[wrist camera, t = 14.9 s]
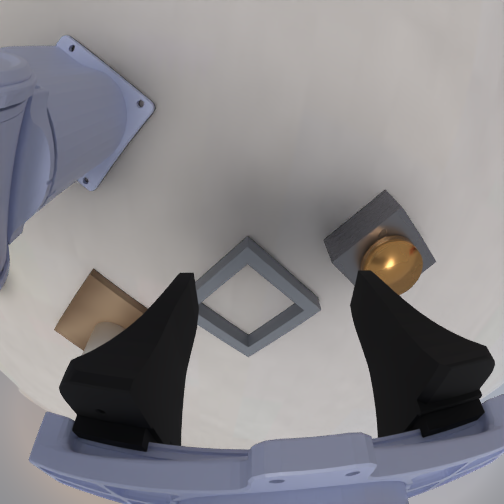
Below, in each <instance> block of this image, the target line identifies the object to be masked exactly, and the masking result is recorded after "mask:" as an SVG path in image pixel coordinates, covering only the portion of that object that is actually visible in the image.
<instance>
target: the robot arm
mask: <svg viewBox="0 0 504 504" xmlns="http://www.w3.org/2000/svg"><path fill="white" fill-rule="evenodd" d="M73 46H75V49H74V51H72V47H73ZM140 100H143V102H144V106H143V107H140V106H139V101H140ZM154 109H155V106H154V104H153V102H152V101H150V100H149V99H148V98H147V97H146V96H144V95H143V94H142V93H141V92H140V91H138V90H137V89H136V88H135V87H134V86H132V85H131V84H130V83H129V82H128V81H126V80H125V79H124V78H123V77H121V76H120V75H119V74H118V73H116V72H115V71H114V70H113V69H111V68H110V67H109V66H108V65H106V64H105V63H104V62H103V61H101V60H100V59H99V58H98V57H96V56H95V55H94V54H93V53H91V52H90V51H89V50H87V49H86V48H85V47H84V46H82V45H81V44H80V43H78V42H77V41H76V40H74V39H73V38H72V37H71V36H68V35H65V36H62V37H61V38H60V40H59V41H58V42H57V44H56V46H11V47H3V48H0V290H1V288H2V287H3V285H4V283H5V281H6V278H7V276H8V271H9V267H10V258H9V247H8V245H9V244H11V243H12V242H13V241H14V240H15V239H16V238H17V237H18V236H19V235H20V234H21V233H22V231H23V226H24V224H25V222H26V221H27V220H28V219H29V218H31V217H32V216H33V215H34V214H35V213H36V212H37V211H39V210H40V209H41V208H42V207H43V206H45V205H46V204H47V203H48V202H50V201H51V200H52V199H53V198H55V197H56V196H57V195H58V194H60V193H61V192H62V191H64V190H65V189H66V188H67V187H69V186H70V185H71V184H73V183H74V182H75V181H78V182H80V183H81V184H82V185H83V186H84V187H85V188H86V189H88V190H89V191H94V190H95V189H96V188H97V187H98V186H99V184H100V183H101V181H102V180H103V178H104V177H105V175H106V174H107V172H108V171H109V169H110V168H111V167H112V165H113V164H114V162H115V161H116V160H117V158H118V157H119V155H120V154H121V153H122V151H123V150H124V149H125V147H126V146H127V145H128V143H129V142H130V141H131V139H132V138H133V137H134V135H135V134H136V133H137V132H138V130H139V129H140V128H141V127H142V125H143V124H144V123H145V122H146V120H147V119H148V118H149V117H150V115H151V114H152V113H153V112H154ZM85 177H86V178H88V180H89V182H86V180H85ZM350 307H351V312H352V317H353V322H354V326H355V329H356V332H357V334H358V337H359V340H360V343H361V346H362V349H363V352H364V355H365V358H366V361H367V364H368V368H369V372H370V377H371V382H372V387H373V393H374V400H375V408H376V417H377V430H378V438H375V439H372V437H371V436H369V435H367V434H364V433H362V432H360V433H344V434H336V435H327V436H317V437H305V438H289V439H276V440H268V441H263V442H261V443H258V444H255V445H254V446H252V447H251V449H250V450H241V449H212V448H197V447H185V446H181V427H182V410H183V398H184V388H185V379H186V373H187V367H188V363H189V359H190V355H191V351H192V347H193V342H194V338H195V334H196V330H197V323H198V314H199V304H198V298H197V292H196V285H195V279H194V273H179V274H178V275H177V277H176V278H175V279H174V280H173V281H172V283H171V284H170V285H169V286H168V287H167V289H166V290H165V291H164V292H163V293H162V294H161V296H160V297H159V298H158V299H157V300H156V301H155V302H154V303H153V304H152V305H151V306H150V307H149V308H148V309H147V311H146V312H145V313H144V314H143V315H142V316H140V317H139V318H138V319H137V320H136V321H135V322H134V323H132V324H131V325H130V326H129V327H128V328H126V329H125V330H124V331H122V332H121V333H119V334H118V335H116V336H115V337H114V338H112V339H111V340H109V341H108V342H106V343H104V344H103V345H101V346H99V347H97V348H96V349H94V350H92V351H90V352H88V353H86V354H84V355H81V356H79V357H77V358H75V359H73V360H71V362H70V364H69V366H68V367H67V370H66V372H65V374H64V377H63V379H62V381H61V384H60V386H59V390H60V393H61V395H62V396H63V398H64V399H65V401H66V402H67V403H68V404H69V406H70V407H71V408H72V409H73V410H74V412H75V413H76V414H77V417H76V420H75V421H74V420H72V419H70V418H68V417H65V416H61V415H58V414H54V413H51V412H46V413H45V416H44V419H43V421H42V424H41V426H40V429H39V432H38V435H37V437H36V440H35V443H34V446H33V448H32V451H31V455H30V457H29V461H30V462H31V463H32V464H33V465H35V466H36V467H37V468H39V469H41V470H42V471H43V472H45V473H46V474H48V475H49V476H51V477H52V478H54V479H55V480H57V481H59V482H60V483H62V484H65V485H68V486H70V487H73V488H76V489H79V490H82V491H85V492H87V493H91V494H93V495H96V496H100V497H103V498H106V499H109V500H112V501H116V502H119V503H123V504H409V503H408V498H410V497H413V496H415V495H418V494H421V493H424V492H426V491H429V490H431V489H434V488H436V487H439V486H441V485H444V484H446V483H448V482H451V481H453V480H455V479H457V478H460V477H462V476H464V475H467V474H469V473H471V472H473V471H475V470H477V469H479V468H481V467H483V466H485V465H488V464H490V463H491V462H493V461H494V460H496V459H497V458H498V457H500V456H501V455H502V454H503V453H504V394H502V395H499V396H497V397H494V398H492V399H489V400H487V401H485V402H484V403H482V404H481V402H480V400H479V398H481V396H482V394H481V391H480V388H481V386H482V385H483V384H484V382H485V381H486V380H487V379H488V377H489V376H490V374H491V373H492V371H493V369H494V366H495V361H494V359H493V357H492V356H491V354H490V352H489V350H488V349H487V347H486V346H484V345H481V344H478V343H476V342H473V341H470V340H468V339H465V338H463V337H461V336H459V335H457V334H455V333H453V332H451V331H449V330H447V329H445V328H443V327H442V326H440V325H438V324H436V323H435V322H433V321H432V320H430V319H429V318H427V317H426V316H424V315H423V314H421V313H420V312H419V311H417V310H416V309H415V308H413V307H412V306H411V305H410V304H409V303H407V302H406V301H405V300H404V299H402V298H401V297H400V296H399V295H398V294H397V293H396V292H395V291H393V290H392V289H391V288H390V287H389V286H388V285H387V284H386V283H385V282H384V281H382V280H381V279H380V278H379V277H378V276H377V275H376V274H375V273H373V272H372V271H371V270H358V273H357V278H356V282H355V287H354V291H353V296H352V300H351V304H350Z"/></svg>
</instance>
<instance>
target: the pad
mask: <svg viewBox="0 0 504 504" xmlns="http://www.w3.org/2000/svg"><path fill="white" fill-rule="evenodd" d="M146 311H147V308H145V307H144V306H143V305H141V304H140V303H138V302H137V301H136V300H134V299H133V298H131V297H130V296H129V295H127V294H126V293H125V292H123V291H122V290H121V289H119V288H118V287H117V286H115V285H114V284H113V283H111V282H110V281H109V280H107V279H106V278H105V277H103V276H102V275H101V274H99V273H98V272H97V271H96V270H94V269H93V270H92V271H91V273H90V274H89V276H88V277H87V279H86V280H85V282H84V283H83V285H82V286H81V288H80V289H79V291H78V292H77V294H76V295H75V297H74V298H73V300H72V301H71V303H70V304H69V306H68V308H67V309H66V311H65V312H64V314H63V316H62V317H61V319H60V320H59V322H58V324H57V325H56V327H55V329H54V330H55V331H57V332H58V333H59V334H61V335H62V336H63V337H65V338H66V339H68V340H69V341H70V342H72V343H73V344H75V345H76V346H78V347H79V348H81V349H82V350H83V351H84V349H85V347H86V345H87V342H88V340H89V338H90V336H91V334H92V332H93V329H94V327H95V326H96V325H97V324H98V323H100V322H111V323H114V324H117V325H119V326H121V327H123V328H124V329H126V328H128V327H129V326H130V325H131V324H132V323H134V322H135V321H136V320H137V319H138V318H139V317H140V316H142V315H143V314H144V313H145V312H146Z"/></svg>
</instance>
